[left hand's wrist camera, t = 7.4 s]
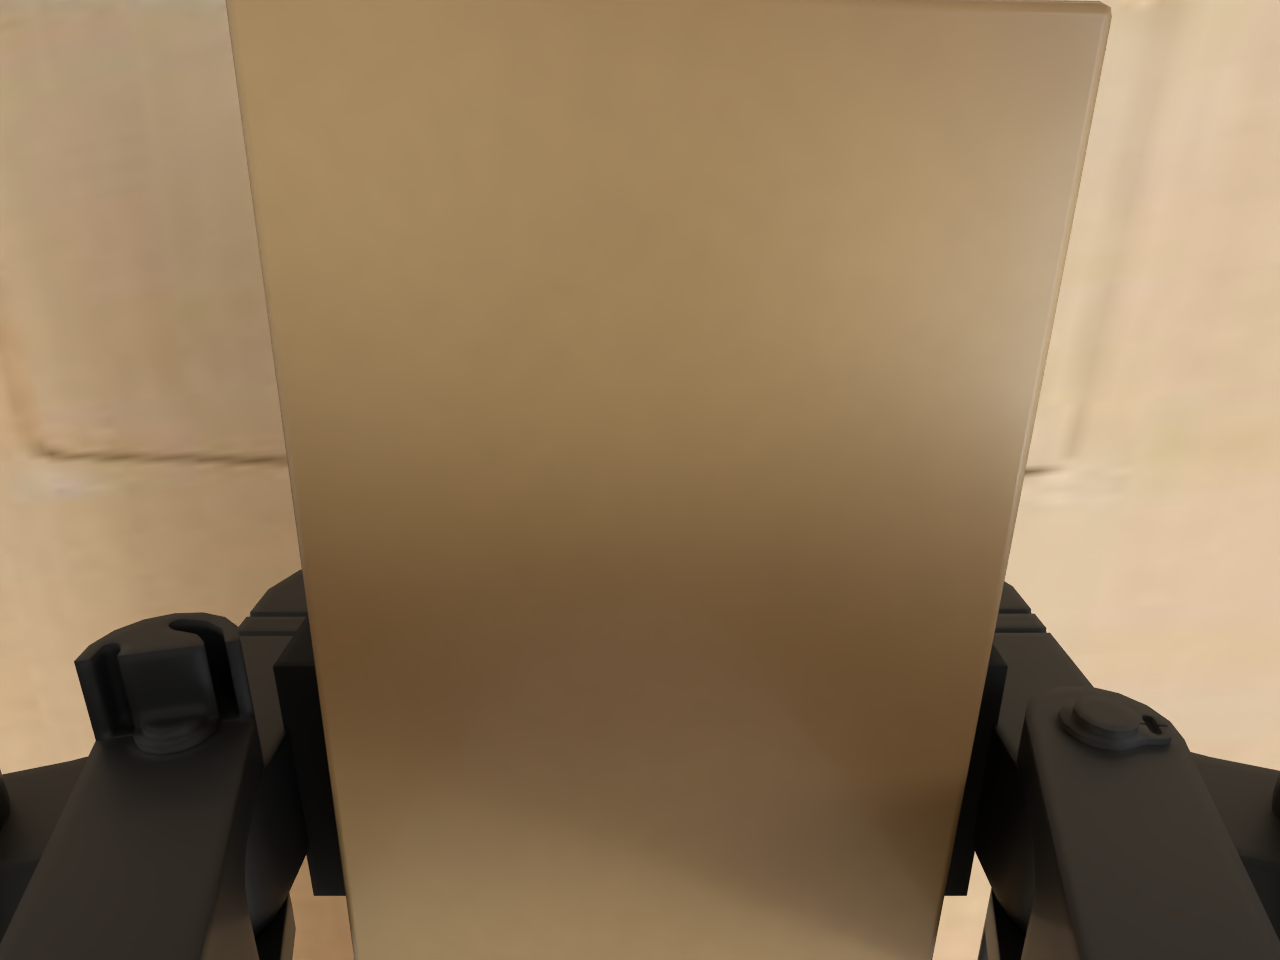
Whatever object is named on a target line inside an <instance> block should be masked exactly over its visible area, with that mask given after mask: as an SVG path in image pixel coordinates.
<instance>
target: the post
mask: <svg viewBox="0 0 1280 960" xmlns="http://www.w3.org/2000/svg"><path fill="white" fill-rule="evenodd" d="M226 7H227V14H228V21H229V29H230V36H231V44H232V51H233V59H234V66H235V74H236V81H237V88H238V96H239V103H240V111H241V118H242V126H243V133H244V141H245V148H246V155H247V163H248V170H249V178H250V185H251V193H252V200H253V207H254V215H255V222H256V230H257V237H258V245H259V252H260V260H261V267H262V274H263V282H264V289H265V297H266V304H267V312H268V319H269V327H270V334H271V341H272V349H273V356H274V364H275V371H276V379H277V386H278V394H279V401H280V408H281V416H282V423H283V431H284V438H285V446H286V453H287V461H288V468H289V475H290V483H291V490H292V498H293V505H294V513H295V520H296V527H297V535H298V542H299V550H300V557H301V565H302V572H303V580H304V587H305V594H306V602H307V609H308V617H309V624H310V632H311V639H312V647H313V654H314V661H315V669H316V676H317V684H318V691H319V699H320V706H321V714H322V721H323V728H324V736H325V743H326V751H327V758H328V766H329V773H330V781H331V788H332V795H333V803H334V810H335V818H336V825H337V833H338V840H339V847H340V855H341V862H342V870H343V877H344V885H345V892H346V900H347V907H348V914H349V922H350V929H351V937H352V944H353V952H354V959H355V960H932V957H933V952H934V947H935V942H936V936H937V931H938V926H939V921H940V915H941V910H942V905H943V900H944V894H945V889H946V884H947V879H948V873H949V868H950V863H951V858H952V852H953V847H954V842H955V837H956V831H957V826H958V821H959V816H960V810H961V805H962V800H963V795H964V789H965V784H966V779H967V774H968V768H969V763H970V758H971V753H972V747H973V742H974V737H975V732H976V726H977V721H978V716H979V711H980V705H981V700H982V695H983V690H984V684H985V679H986V674H987V669H988V663H989V658H990V653H991V648H992V642H993V637H994V632H995V627H996V621H997V616H998V611H999V606H1000V600H1001V595H1002V590H1003V585H1004V579H1005V574H1006V569H1007V564H1008V558H1009V553H1010V548H1011V543H1012V537H1013V532H1014V527H1015V522H1016V516H1017V511H1018V506H1019V501H1020V495H1021V490H1022V485H1023V480H1024V474H1025V469H1026V464H1027V459H1028V453H1029V448H1030V443H1031V438H1032V432H1033V427H1034V422H1035V417H1036V411H1037V406H1038V401H1039V396H1040V390H1041V385H1042V380H1043V375H1044V369H1045V364H1046V359H1047V354H1048V348H1049V343H1050V338H1051V333H1052V327H1053V322H1054V317H1055V312H1056V306H1057V301H1058V296H1059V291H1060V285H1061V280H1062V275H1063V270H1064V264H1065V259H1066V254H1067V249H1068V243H1069V238H1070V233H1071V228H1072V222H1073V217H1074V212H1075V207H1076V201H1077V196H1078V191H1079V186H1080V180H1081V175H1082V170H1083V165H1084V159H1085V154H1086V149H1087V144H1088V138H1089V133H1090V128H1091V123H1092V117H1093V112H1094V107H1095V102H1096V96H1097V91H1098V86H1099V81H1100V75H1101V70H1102V65H1103V60H1104V54H1105V49H1106V44H1107V39H1108V33H1109V28H1110V23H1111V18H1112V15H1111V7H1109V6H1107V5H1105V4H1104V3H1102V2H1100V1H1068V0H226Z"/></svg>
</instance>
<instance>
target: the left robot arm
mask: <svg viewBox="0 0 1280 960" xmlns="http://www.w3.org/2000/svg"><path fill="white" fill-rule="evenodd" d="M74 663H75V666H76V670H77V674H78V677H79V681H80V685H81V688H82V692H83V695H84V699H85V703H86V706H87V710H88V713H89V717H90V721H91V724H92V728H93V731H94V735H95V739H96V742H95V744H94V746H93V748H92V750H91V752H90V754H89V756H88V757H84V758H81V759H77V760H73V761H68V762H63V763H58V764H53V765H48V766H43V767H38V768H33V769H28V770H23V771H18V772H13V773H8V774H3V775H2V773H1V770H0V960H292V956H293V947H294V938H295V930H296V928H295V922H294V915H293V909H292V904H291V899H290V893H289V891H290V889H291V887H292V884H293V882H294V880H295V878H296V876H297V874H298V871H299V869H300V867H301V865H302V863H303V860H304V858H305V856H306V854H307V860H308V865H309V871H310V876H311V882H312V887H313V893H314V896H346V892H345V885H344V877H343V870H342V862H341V855H340V847H339V840H338V833H337V825H336V818H335V810H334V803H333V795H332V788H331V781H330V773H329V766H328V758H327V751H326V743H325V736H324V728H323V721H322V714H321V706H320V699H319V691H318V684H317V676H316V669H315V661H314V654H313V647H312V639H311V632H310V624H309V617H308V609H307V602H306V594H305V587H304V580H303V572H302V570H299V571H298V572H296V573H294V574H293V575H291V576H290V577H288V578H286V579H285V580H283V581H281V582H280V583H278V584H277V585H275V586H273V587H272V588H270V589H268V591H267V592H266V593H265V594H264V596H263V597H262V598H261V600H260V601H259V602H258V603H257V605H256V606H255V607H254V608H253V610H252V611H251V612H250V617H246V618H245V620H244V621H243V622H242V623H241V625H240V626H239V627H238V626H236V625H235V624H234V623H232V622H231V621H229V620H228V619H227V618H225V617H222V616H217V615H212V614H207V613H174V614H169V615H164V616H159V617H154V618H150V619H145V620H142V621H139V622H136V623H133V624H131V625H128V626H125V627H123V628H120V629H117V630H114V631H113V632H111V633H109V634H108V635H106V636H104V637H103V638H101V639H99V640H97V641H96V642H94V643H92V644H91V645H89V646H88V647H87V648H86V649H85V651H84V652H83V653H82V654H81V655H80V656H79V657H78V658H77V659H76V660H75V661H74ZM974 852H976V854H977V857H978V859H979V861H980V863H981V865H982V867H983V870H984V872H985V874H986V876H987V878H988V880H989V883H990V885H991V887H992V888H991V893H990V899H989V904H988V909H987V914H986V919H985V924H984V930H983V935H982V940H981V945H980V950H979V955H978V960H1280V771H1277V770H1272V769H1267V768H1262V767H1257V766H1252V765H1247V764H1242V763H1237V762H1232V761H1227V760H1222V759H1217V758H1212V757H1208V756H1204V755H1200V754H1196V753H1192V752H1190V751H1189V749H1188V746H1187V744H1186V742H1185V740H1184V739H1183V737H1182V736H1181V735H1180V734H1179V732H1178V731H1177V730H1176V728H1175V727H1174V726H1173V725H1172V723H1171V722H1170V721H1169V720H1167V719H1166V718H1164V717H1163V716H1161V715H1160V714H1159V713H1157V712H1156V711H1154V710H1153V709H1151V708H1150V707H1148V706H1147V705H1145V704H1142V703H1140V702H1138V701H1135V700H1133V699H1131V698H1128V697H1126V696H1124V695H1121V694H1119V693H1115V692H1111V691H1107V690H1102V689H1098V688H1094V687H1093V686H1092V685H1091V683H1090V682H1089V681H1088V680H1087V678H1086V677H1085V676H1084V675H1083V673H1082V672H1081V671H1080V670H1079V668H1078V667H1077V666H1076V665H1075V663H1074V662H1073V661H1072V660H1071V658H1070V657H1069V656H1068V655H1067V653H1066V652H1065V651H1064V650H1063V648H1062V647H1061V646H1060V645H1059V644H1058V642H1057V641H1056V640H1055V639H1054V637H1053V636H1052V635H1051V634H1050V633H1046V627H1045V626H1044V625H1043V624H1042V622H1041V621H1040V620H1039V619H1038V617H1037V616H1036V615H1035V614H1031V609H1030V607H1029V606H1028V605H1027V604H1026V602H1025V601H1024V600H1023V599H1022V597H1021V596H1020V595H1019V594H1018V592H1017V591H1016V590H1015V589H1014V587H1013V586H1011V585H1009V584H1008V583H1006V582H1005V581H1004V585H1003V590H1002V595H1001V600H1000V606H999V611H998V616H997V621H996V627H995V632H994V637H993V642H992V648H991V653H990V658H989V663H988V669H987V674H986V679H985V684H984V690H983V695H982V700H981V705H980V711H979V716H978V721H977V726H976V732H975V737H974V742H973V747H972V753H971V758H970V763H969V768H968V774H967V779H966V784H965V789H964V795H963V800H962V805H961V810H960V816H959V821H958V826H957V831H956V837H955V842H954V847H953V852H952V858H951V863H950V868H949V873H948V879H947V884H946V889H945V894H944V896H967V891H968V886H969V880H970V875H971V869H972V863H973V858H974Z"/></svg>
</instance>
